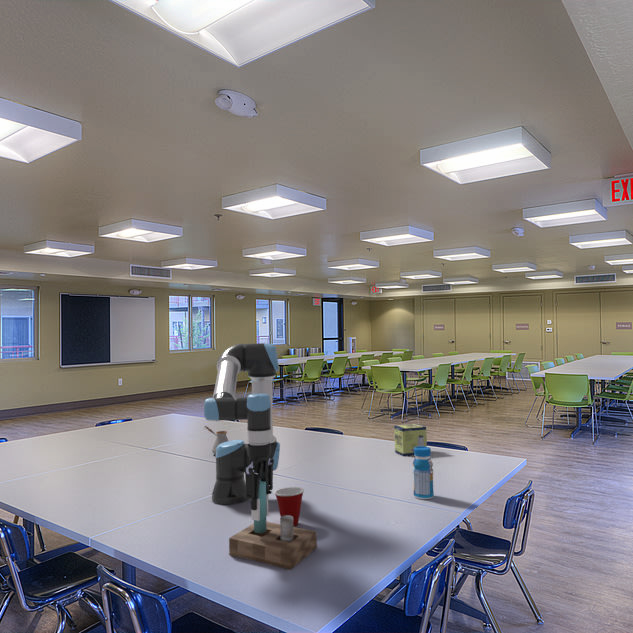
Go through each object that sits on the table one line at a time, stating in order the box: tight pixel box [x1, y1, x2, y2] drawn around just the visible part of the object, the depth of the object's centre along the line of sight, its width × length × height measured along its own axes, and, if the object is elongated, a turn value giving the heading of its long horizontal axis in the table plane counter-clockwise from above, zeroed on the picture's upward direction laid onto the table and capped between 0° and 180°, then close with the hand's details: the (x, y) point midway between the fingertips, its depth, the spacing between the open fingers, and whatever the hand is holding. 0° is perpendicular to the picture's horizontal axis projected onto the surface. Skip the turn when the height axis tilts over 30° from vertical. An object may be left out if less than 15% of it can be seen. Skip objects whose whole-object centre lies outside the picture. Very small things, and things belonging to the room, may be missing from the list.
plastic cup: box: [273, 486, 305, 527], centre depth 170 cm, size 11×11×12 cm
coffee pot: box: [204, 425, 229, 456], centre depth 280 cm, size 21×12×15 cm, turn 52°
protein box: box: [393, 423, 428, 457], centre depth 271 cm, size 10×16×16 cm
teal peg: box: [253, 481, 267, 533], centre depth 150 cm, size 4×4×15 cm
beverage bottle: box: [412, 446, 435, 500], centre depth 196 cm, size 8×8×20 cm
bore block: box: [228, 515, 318, 571], centre depth 148 cm, size 16×22×11 cm
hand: (260, 517), depth 150 cm, fingers closed on teal peg, 4 cm apart
